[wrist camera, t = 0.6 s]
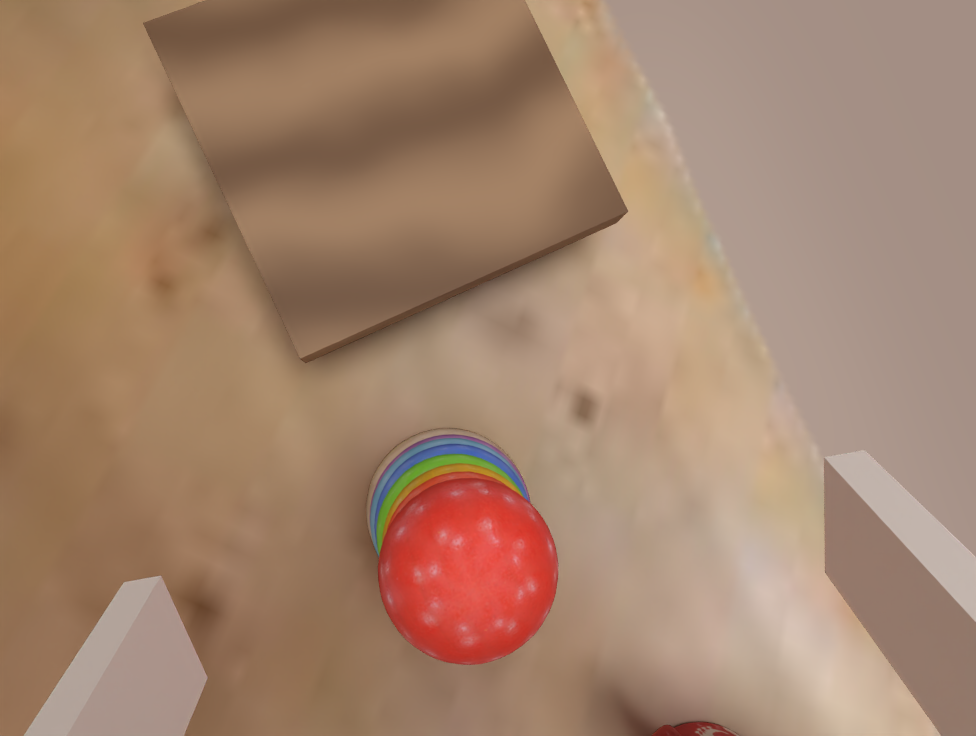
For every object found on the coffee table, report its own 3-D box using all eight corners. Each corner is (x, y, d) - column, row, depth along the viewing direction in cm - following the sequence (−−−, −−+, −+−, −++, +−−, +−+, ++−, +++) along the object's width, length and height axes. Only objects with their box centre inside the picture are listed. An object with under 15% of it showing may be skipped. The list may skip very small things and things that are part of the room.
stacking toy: (430, 397, 37) (461, 356, 18) (554, 489, 37) (706, 541, 19) (334, 524, 36) (264, 618, 17) (463, 619, 36) (529, 810, 18)
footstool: (184, 89, 37) (143, 23, 31) (465, -17, 39) (476, -98, 33) (316, 371, 36) (300, 358, 30) (593, 245, 39) (628, 211, 33)
